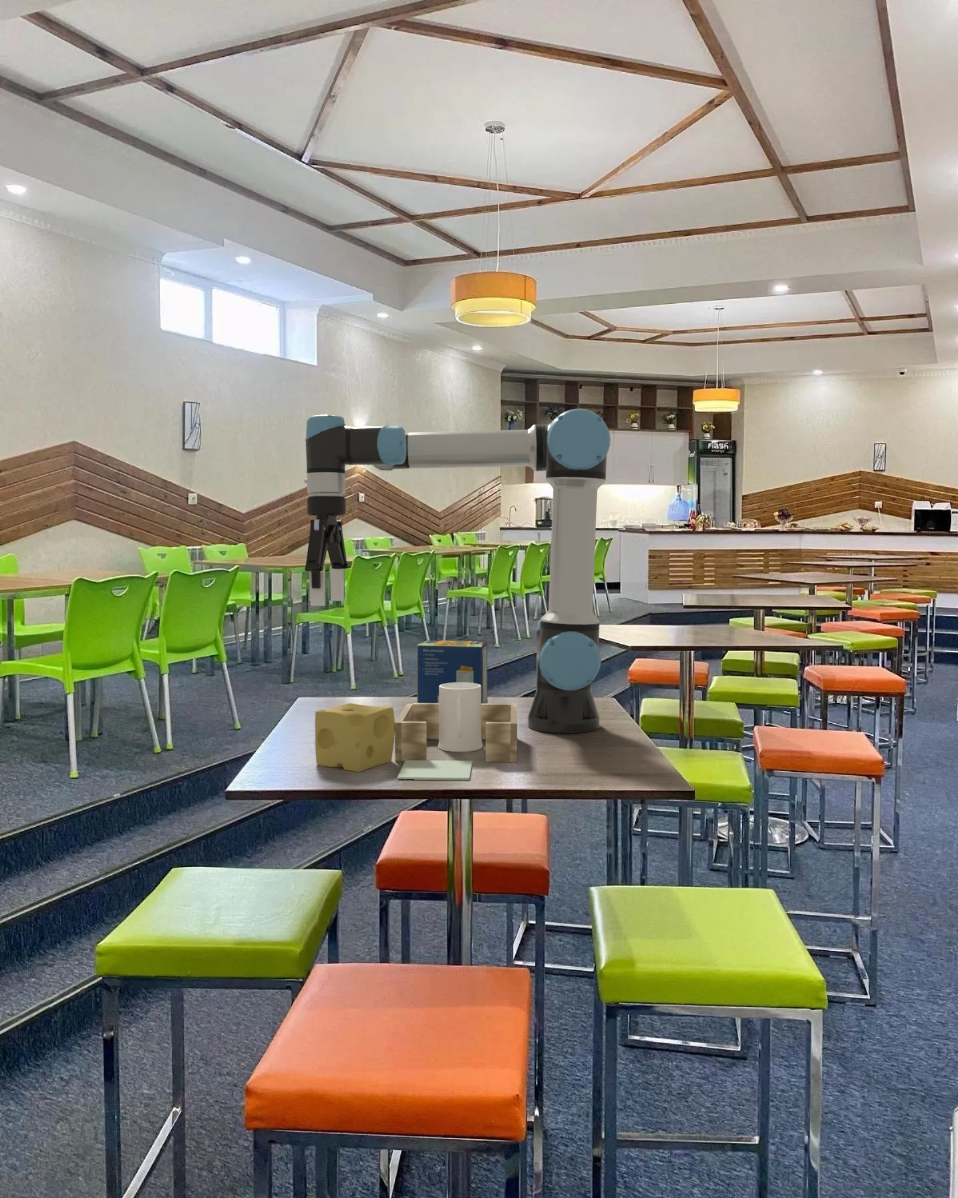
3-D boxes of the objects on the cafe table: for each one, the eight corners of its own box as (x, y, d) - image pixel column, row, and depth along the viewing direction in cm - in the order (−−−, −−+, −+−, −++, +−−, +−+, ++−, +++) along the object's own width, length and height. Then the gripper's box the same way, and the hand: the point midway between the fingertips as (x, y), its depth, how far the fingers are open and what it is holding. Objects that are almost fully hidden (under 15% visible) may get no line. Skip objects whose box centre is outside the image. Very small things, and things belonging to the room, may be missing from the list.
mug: (477, 757, 175) (477, 692, 175) (432, 755, 176) (431, 691, 176) (484, 743, 187) (484, 682, 186) (441, 742, 188) (441, 681, 187)
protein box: (424, 703, 231) (424, 639, 230) (488, 705, 229) (488, 640, 228) (416, 711, 221) (415, 644, 220) (482, 713, 219) (482, 645, 217)
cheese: (359, 773, 164) (358, 715, 163) (311, 765, 169) (311, 709, 169) (396, 761, 172) (395, 706, 172) (349, 754, 178) (349, 701, 177)
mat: (472, 763, 171) (472, 760, 171) (469, 780, 159) (469, 777, 159) (405, 762, 171) (405, 760, 171) (397, 779, 159) (397, 777, 159)
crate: (516, 738, 191) (516, 703, 191) (517, 762, 171) (517, 723, 171) (407, 737, 192) (407, 703, 192) (395, 761, 172) (394, 722, 172)
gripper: (326, 498, 200) (327, 598, 202) (287, 493, 176) (289, 607, 177) (360, 497, 199) (362, 598, 201) (326, 492, 175) (328, 608, 176)
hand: (328, 603), depth 189 cm, fingers open, 13 cm apart
